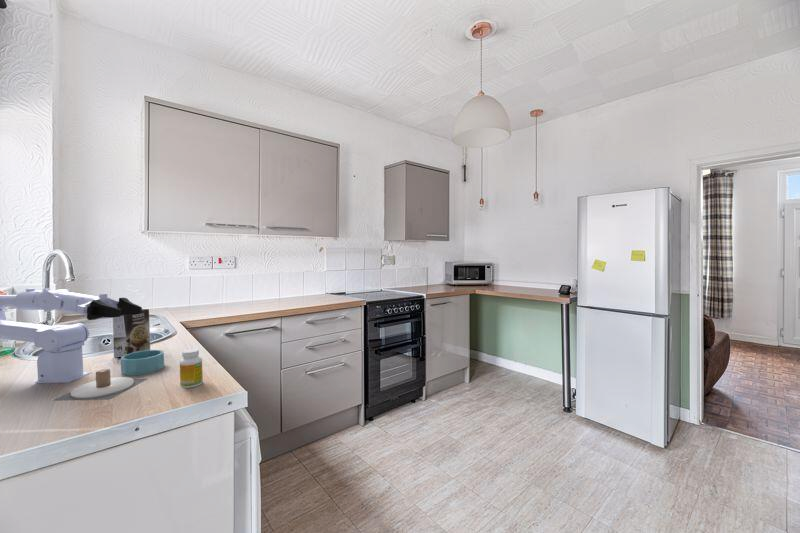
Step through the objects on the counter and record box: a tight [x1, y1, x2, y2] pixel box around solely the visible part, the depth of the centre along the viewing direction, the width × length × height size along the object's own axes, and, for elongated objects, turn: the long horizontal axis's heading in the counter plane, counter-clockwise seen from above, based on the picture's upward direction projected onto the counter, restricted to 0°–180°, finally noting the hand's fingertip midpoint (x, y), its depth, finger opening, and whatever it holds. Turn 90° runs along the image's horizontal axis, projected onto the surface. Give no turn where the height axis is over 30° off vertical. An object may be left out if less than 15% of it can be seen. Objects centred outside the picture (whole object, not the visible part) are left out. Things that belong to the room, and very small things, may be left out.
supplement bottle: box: [179, 348, 204, 389], centre depth 98 cm, size 5×5×10 cm
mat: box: [53, 378, 148, 401], centre depth 94 cm, size 14×14×1 cm
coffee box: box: [112, 308, 151, 358], centre depth 127 cm, size 9×6×16 cm
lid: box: [70, 368, 135, 399], centre depth 94 cm, size 13×13×5 cm
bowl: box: [120, 349, 165, 376], centre depth 110 cm, size 11×11×5 cm
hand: (130, 311), depth 102 cm, fingers open, 7 cm apart
